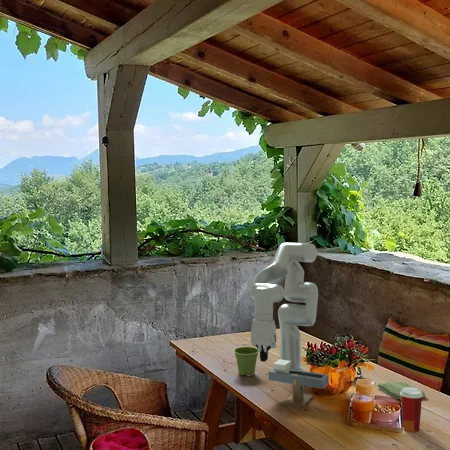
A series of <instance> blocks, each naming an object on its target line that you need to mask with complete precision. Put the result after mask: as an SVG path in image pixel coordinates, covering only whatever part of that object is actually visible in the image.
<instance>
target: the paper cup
mask: <svg viewBox="0 0 450 450" xmlns="http://www.w3.org/2000/svg"><path fill="white" fill-rule="evenodd" d="M420 390H421V389H420V388H416V387H415V388H411V387H407V388H403V389H402V391H401V392H400V395H401V401H400V402H401V417H402V420H401V421H402V422H401V423H402V429H403V428H404V429H403V430H404V431H406V432H408V433H419V431H420V427H421V416H422V415H421V413H422V401H423V398H422V396H423V394H422V392H421V391H420Z"/></svg>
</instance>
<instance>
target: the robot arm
mask: <svg viewBox="0 0 450 450" xmlns="http://www.w3.org/2000/svg"><path fill="white" fill-rule="evenodd" d="M317 256H318V249H317V247H316V245H315V244H313V243H306V242H305V243H303V242H283V243H280V244H279V245H278V248H277V250H276V252H275V254H274V257H273V259H272V262H271V264H270V265H268V266H267V267H265V268H264V269H262V270H261V271H260V272H258V273H257V274H256V275H255V277H254V279H253V280H252V281H253V282H252V284H251V287H250V296H251V299H252V300H254V312H252V313H251V316H252V317H253V319H252V322H251V329H250V343H251V346H252V347H253V346H254V347H255V348H257V349H258V350H259V352H258V353H259V359H260V362H263V363H265V362H266V361H268V359H269V351H270V350H271V349H276V348H277V327H276V322H275V320H274V304H275V303H280V302H281V301H282V300H283V299H285V300H286V301H289V302H293V303H283V304H281V305H280V306H279V308H278V310H277V316H278V323H279V336H280V338H279V339H280V340H279V344H280V345H279V347H280V348H279V349H280V351H279V352H280V353H279V356H280V358H279V359H281V360H288V361H291V366H290V367H289V369H294V370H302V371H305V368H304V367H303V366H302V364H301V363H302V362H301V360H302V359H301V358H302V355H301V353H302V351H301V350H302V347H301V345H302V344H301V342H302V337H301V336H302V333H301V331H300V329H299V327H298V326H301V327H312V326H314V324H315V322H316V318H317V310H318V299H319V288H318V286H317V284H316V283H314V282H309V281H305V270H304V269H303V266H302V265H301V264H300V262H301V263H313V262H315V261H316V259H317ZM282 278H285V279H284V280H285V282H284V287H283V286H282V285H281V284H277V283H276V284H275V283H270V282H272V281H276V280H279V279H282ZM296 303H305V304H296Z"/></svg>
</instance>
